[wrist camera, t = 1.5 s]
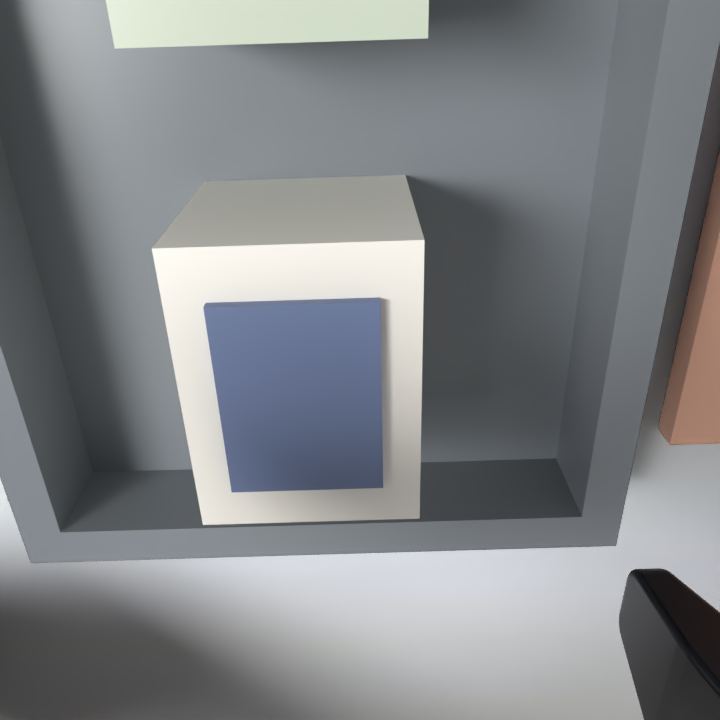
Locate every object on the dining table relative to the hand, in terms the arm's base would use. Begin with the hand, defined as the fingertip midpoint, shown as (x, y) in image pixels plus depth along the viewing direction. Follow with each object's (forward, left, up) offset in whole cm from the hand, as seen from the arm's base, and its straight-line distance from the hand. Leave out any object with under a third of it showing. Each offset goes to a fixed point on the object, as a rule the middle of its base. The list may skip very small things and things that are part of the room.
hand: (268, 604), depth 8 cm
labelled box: (0, 0, -9) cm, 9 cm away
